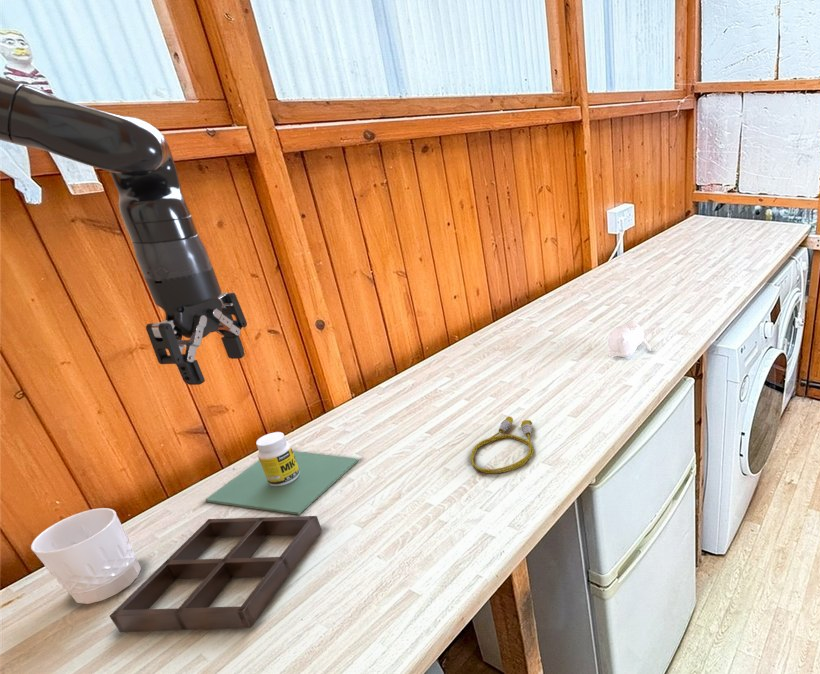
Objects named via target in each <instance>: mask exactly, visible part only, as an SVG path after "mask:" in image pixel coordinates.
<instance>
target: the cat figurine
mask: <svg viewBox="0 0 820 674" xmlns="http://www.w3.org/2000/svg"><path fill="white" fill-rule="evenodd" d="M642 343H644V345H645V347H646V348H647V350H648V351H649V352H651V351H652V347H651V345H650V344H649V343H648V341H647V340H646V339H645V332H644V329H643V327H642V326H641V325H640V324H638V323H636V322H634V321H633V320H629V322H627V323H625V324H623V325H622V326H618V327H615V328H614V329H612V330H611V331H610V333H609V334H608V336H607V346H608V349H609V352H608V358H614V357H620V358H626V357H627V358H628V357H630V356H631V355H633V354H634V353H635V352H636V350H637V349H638V347H639V346H640V345H641V344H642Z"/></svg>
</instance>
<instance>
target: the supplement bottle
mask: <svg viewBox="0 0 820 674" xmlns="http://www.w3.org/2000/svg"><path fill="white" fill-rule="evenodd" d="M255 443H256V447H257V449H258V452H257V457H258V458H257V459H258V461H259V460H260V463H261V465H262V468H263V470H264V473H265V476H266V478H267V481H268V483H269V484H270V485H271V486H282V485H286V484H288V483H291V482H292V481H294V480H295V479H296V478H297V477H298V476H299V474H300V470H299V468H298V465H297V462H296V459H295V456H294V453H293V451H294V450H293V448H292V445H291V443H290V442H289V441H287V438H286V435H285V434H284V433H283V432H281V431H275V432H271V433H267V434H265V435H262V436H260V437H259V438H258V439H257V440H256V442H255Z"/></svg>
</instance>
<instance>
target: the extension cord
mask: <svg viewBox="0 0 820 674" xmlns="http://www.w3.org/2000/svg"><path fill="white" fill-rule="evenodd" d="M513 422H514V419H513V417H512V416H510V415H509V416H507V417H505V419H503V421H501V423H500V426H499V429H498V432H497V433H495V434H494V435H492V436H491V437H489V438H486V439H484V440H481V441H480V442H478V443H477V444H476V445H475V446H474V447H473V449H472V451H471V454H470V464H471V465H472V466H473V467H474V468H475V469H476V470H477V471H479V472H481V473H484V474H502V473H506V472H509V471H513V470H515V469H517V468H520V467H522V466H524V465H525V464H526V463H527V462H528V460H530V459H531V457H532V456H533V453H534V447H533V445H532V441H531V436H532V432H533V427H532V425H533V422H532V421H531V420H530V419H529V420H528V419H524V420H523V421H522V422H521V424H520V427H521V431H522V432H523V434H524V436H525V437H526V438H527V439H525V438H523V437H520V436H517V435H513V434H504V433H505V432H506V431H508V430H510V428H511V426H512V424H513ZM499 434H500V435H499ZM502 439H514V440H517V441H520V442H521V443H524V444H526V445H527V446H528V448H529V449H528V450H529V451H528V453H527V454H526V456H525V457H523V458H522V459H520V460H517V461H516V462H514V463H512V464H509V465H506V466H504V467H499V468H491V469H488V468H487V469H486V468H481V467H480V466H477V465H476V464H475V462H474V457H475V455H476V452H477V450H478V449H479V448H480V447H481V446H483V445H486V444H488V443H491V442H495V441H498V440H502Z"/></svg>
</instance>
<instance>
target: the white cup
mask: <svg viewBox="0 0 820 674" xmlns="http://www.w3.org/2000/svg"><path fill="white" fill-rule="evenodd" d="M30 549H31V551H32V552H33V554H34V555H35V556H36V557H37V559H38V560H39V561H40V562H41V563H42V564H43V566H44V567H45V569H46V570H47V572H49V573H50V575H52V577H53V578H54V579H55V580H56V582H58V584H59V585H60V586H61V587H62V588H63V589H65V590H66V591H67V592H68V593H69V595H70V596H71V597H72V598H73V600H74V601H75V602H76V604H83V605H84V604H85V605H90V604H94V603H97V602H98V603H99V602H102V601H105V600H106V599H109V598H111V597H113V596H116V595H117V594H119V593H120V592H122V591H124V590H125V589H126V588H128V587H129V586H131V585H132V583H133V582H135V580H136V579H137V578H139V575H140V572H141V570H142V568H141V565H140V564H139V561H138V559H137V557H136V555H135V551H134V548H133V546H132V543H131V540H130V538H129V537H128V535H127V533H126V530H125V528H124V527H123V524H122V523H121V520H120V518H119V516H118V514H117V512H116V510H114V509H113V508H109V507H100V508H99V507H98V508H93V509H88V510H84V511H81V512H78V513H75V514H72V515H70V516H68V517H65V518H63V519H61V520H59V521H57V522H55V523H53V524H52V525H50V526H48V527H47V528H45V529H44V530H43V531H41V533H39V534H38V535H37V536H36V537H35V538H34V539H33V541H32V542H31V544H30Z"/></svg>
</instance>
